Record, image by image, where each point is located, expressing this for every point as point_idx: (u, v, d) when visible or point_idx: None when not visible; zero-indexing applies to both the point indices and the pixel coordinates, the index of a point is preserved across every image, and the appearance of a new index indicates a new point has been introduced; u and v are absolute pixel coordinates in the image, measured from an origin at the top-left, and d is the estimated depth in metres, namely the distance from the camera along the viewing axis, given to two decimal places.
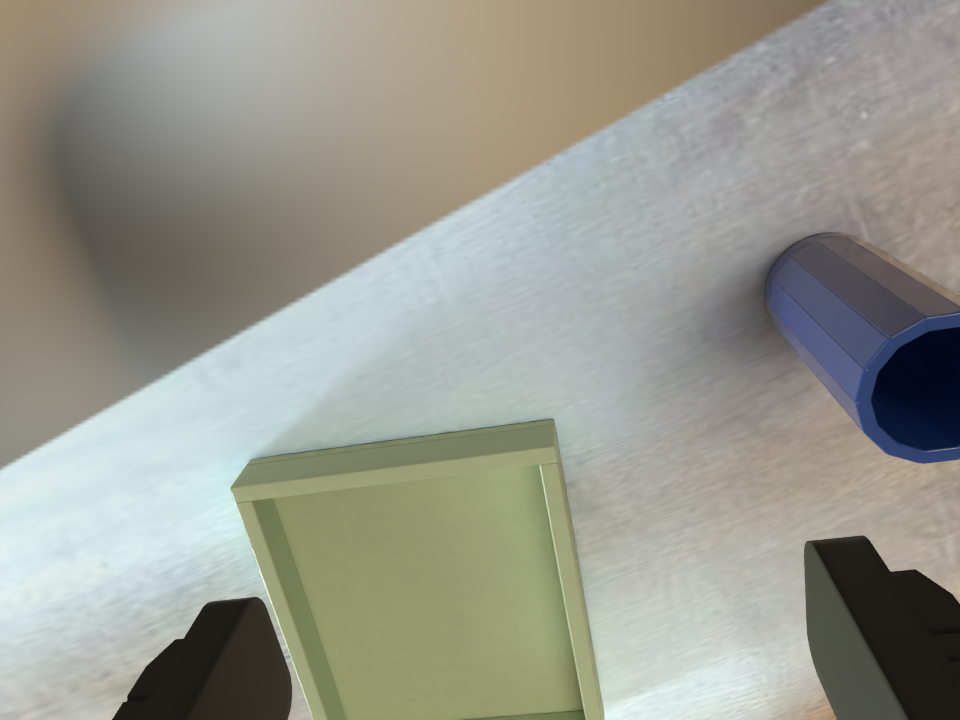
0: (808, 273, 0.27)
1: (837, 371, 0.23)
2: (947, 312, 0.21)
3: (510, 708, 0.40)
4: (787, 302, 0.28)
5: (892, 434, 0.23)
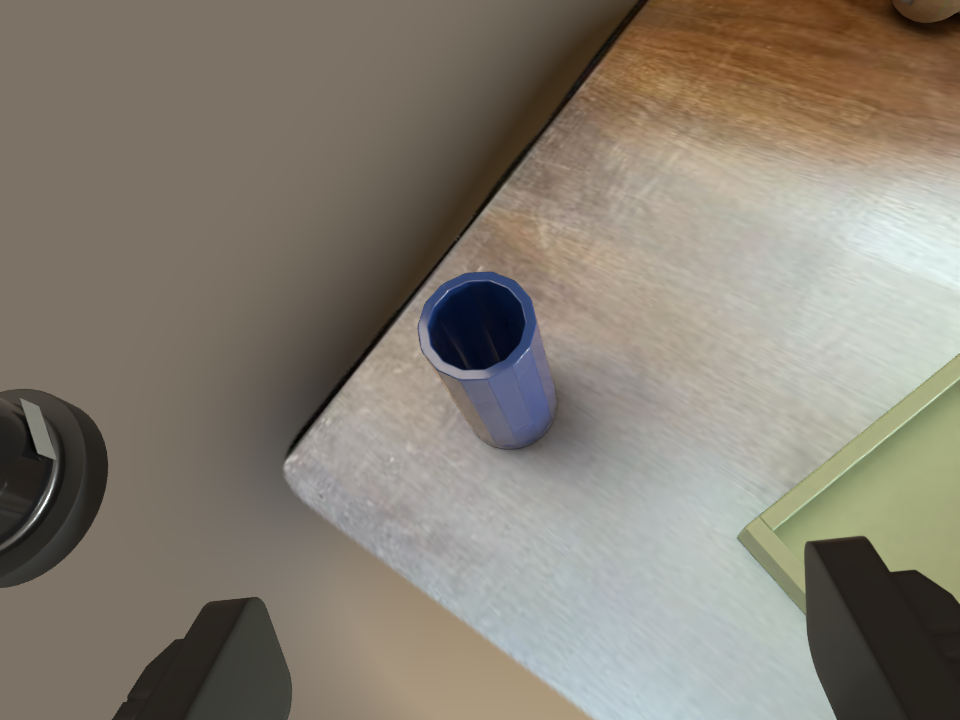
0: (490, 431, 0.35)
1: (511, 385, 0.30)
2: (427, 359, 0.30)
3: None
4: (518, 430, 0.35)
5: None
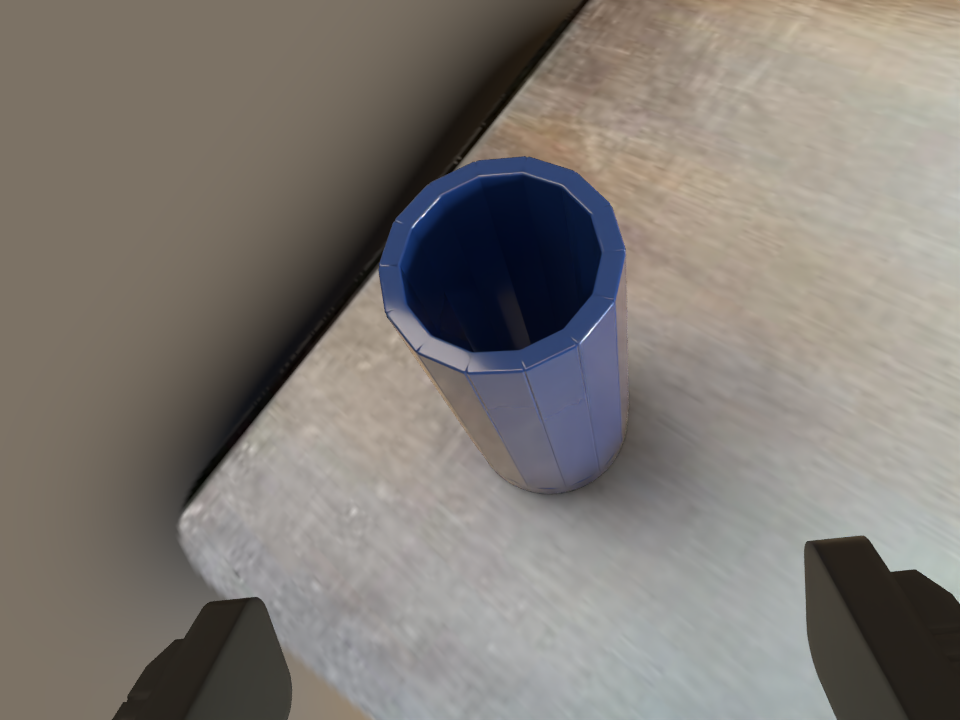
0: (520, 467, 0.20)
1: (570, 384, 0.15)
2: (399, 332, 0.14)
3: None
4: (570, 465, 0.20)
5: None
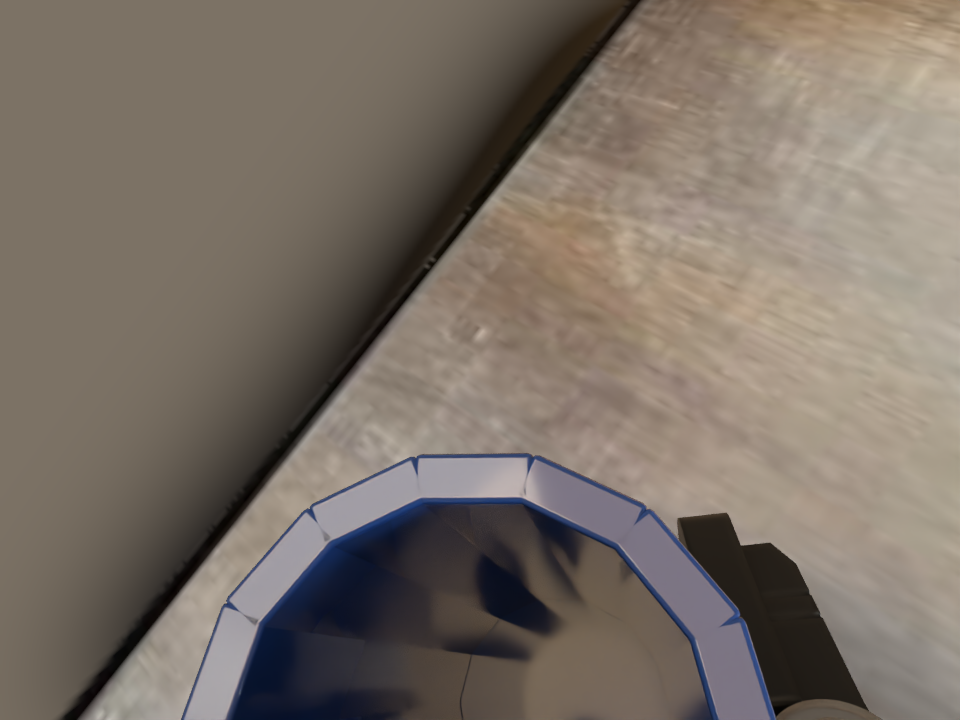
0: None
1: None
2: None
3: None
4: None
5: None
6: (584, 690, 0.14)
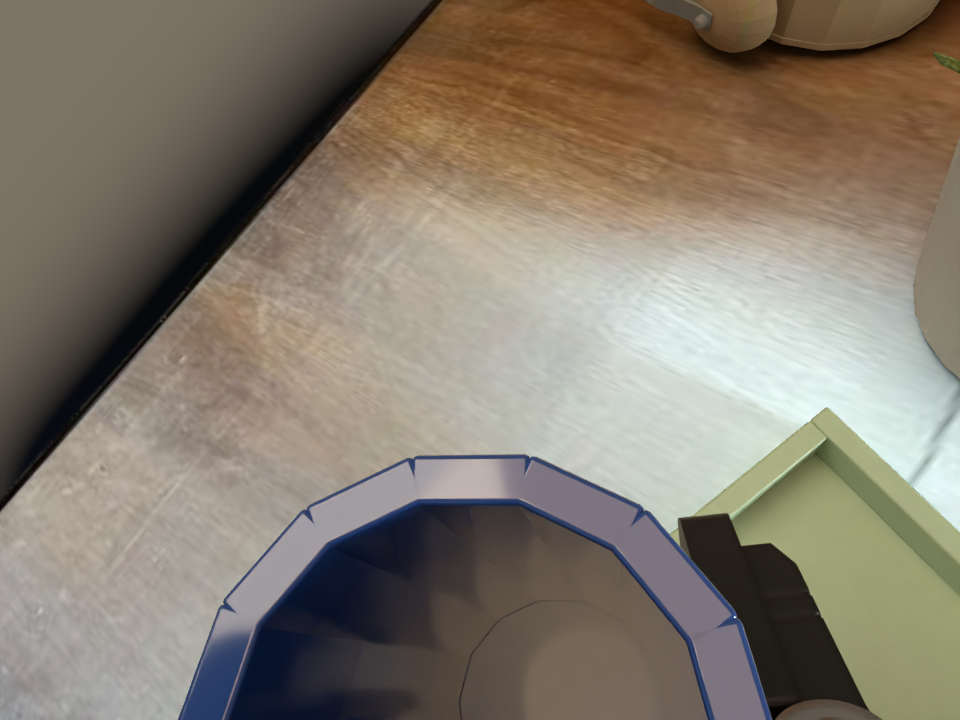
0: None
1: None
2: None
3: (894, 551, 0.25)
4: None
5: None
6: (583, 691, 0.14)
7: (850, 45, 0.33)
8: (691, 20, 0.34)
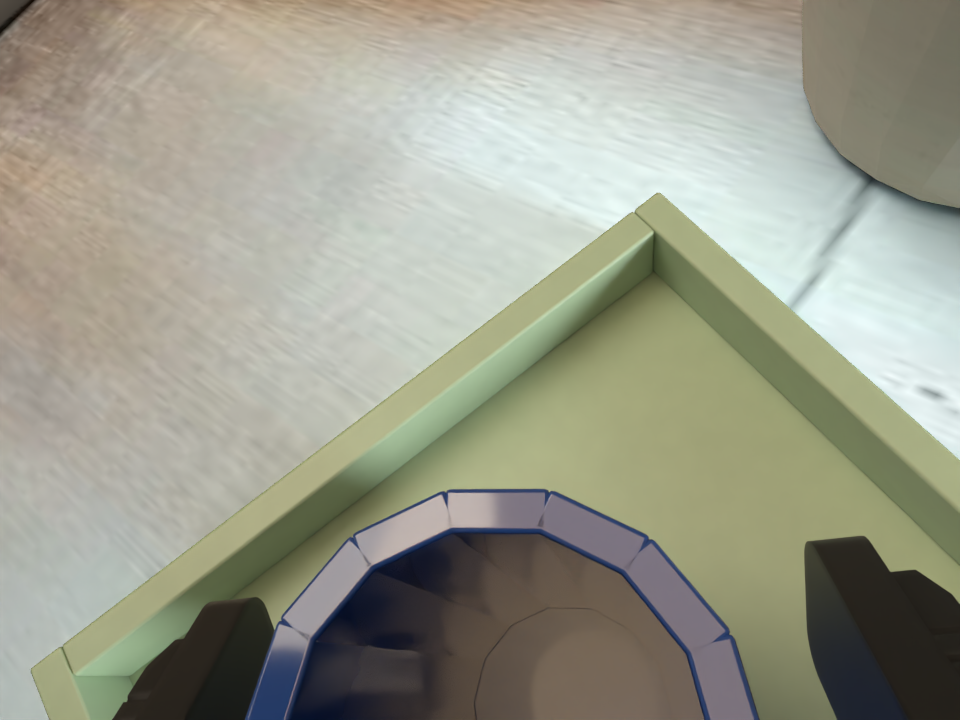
0: None
1: None
2: None
3: (755, 398, 0.17)
4: None
5: None
6: (591, 693, 0.15)
7: None
8: None
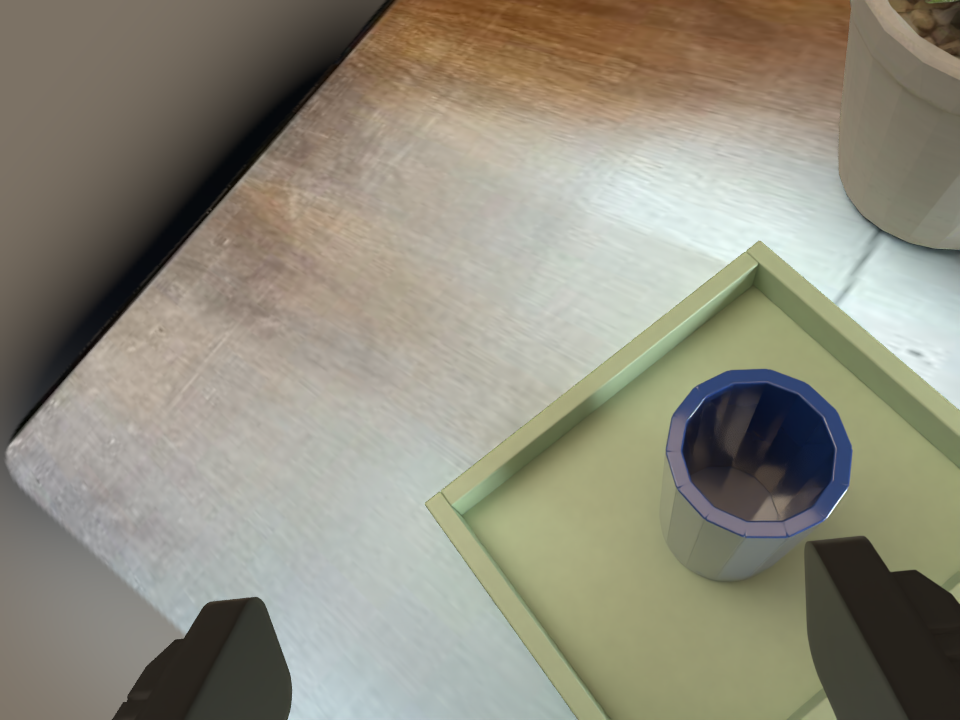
0: (721, 570, 0.26)
1: (803, 535, 0.21)
2: (687, 502, 0.20)
3: (815, 356, 0.31)
4: (760, 569, 0.26)
5: (827, 450, 0.21)
6: (734, 508, 0.29)
7: None
8: None
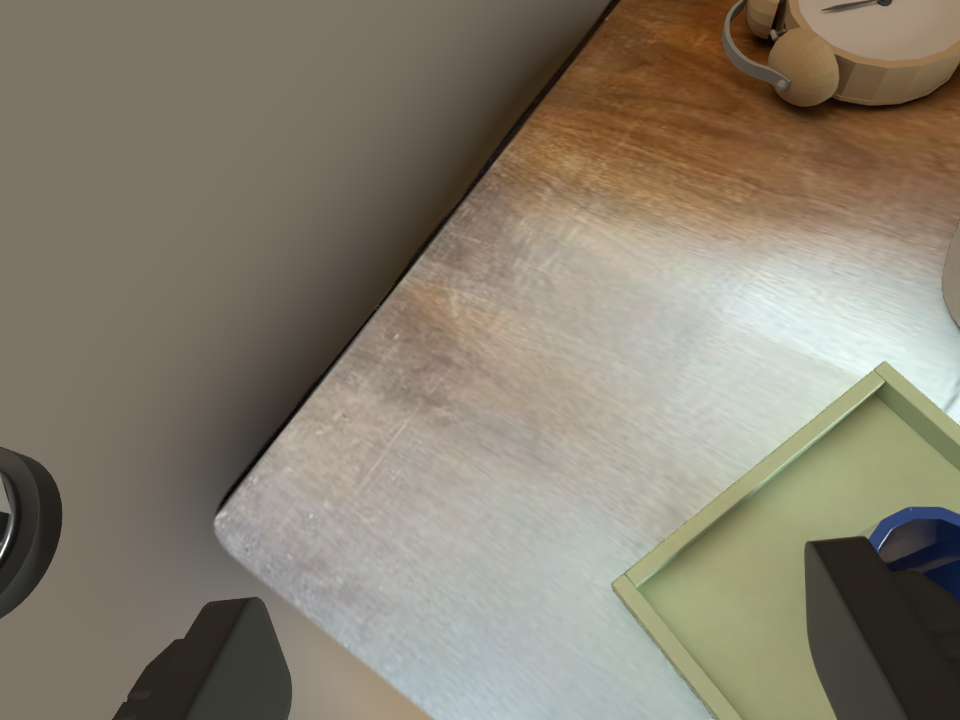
0: None
1: None
2: None
3: (932, 459, 0.37)
4: None
5: None
6: None
7: (891, 101, 0.45)
8: (773, 84, 0.45)
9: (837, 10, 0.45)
